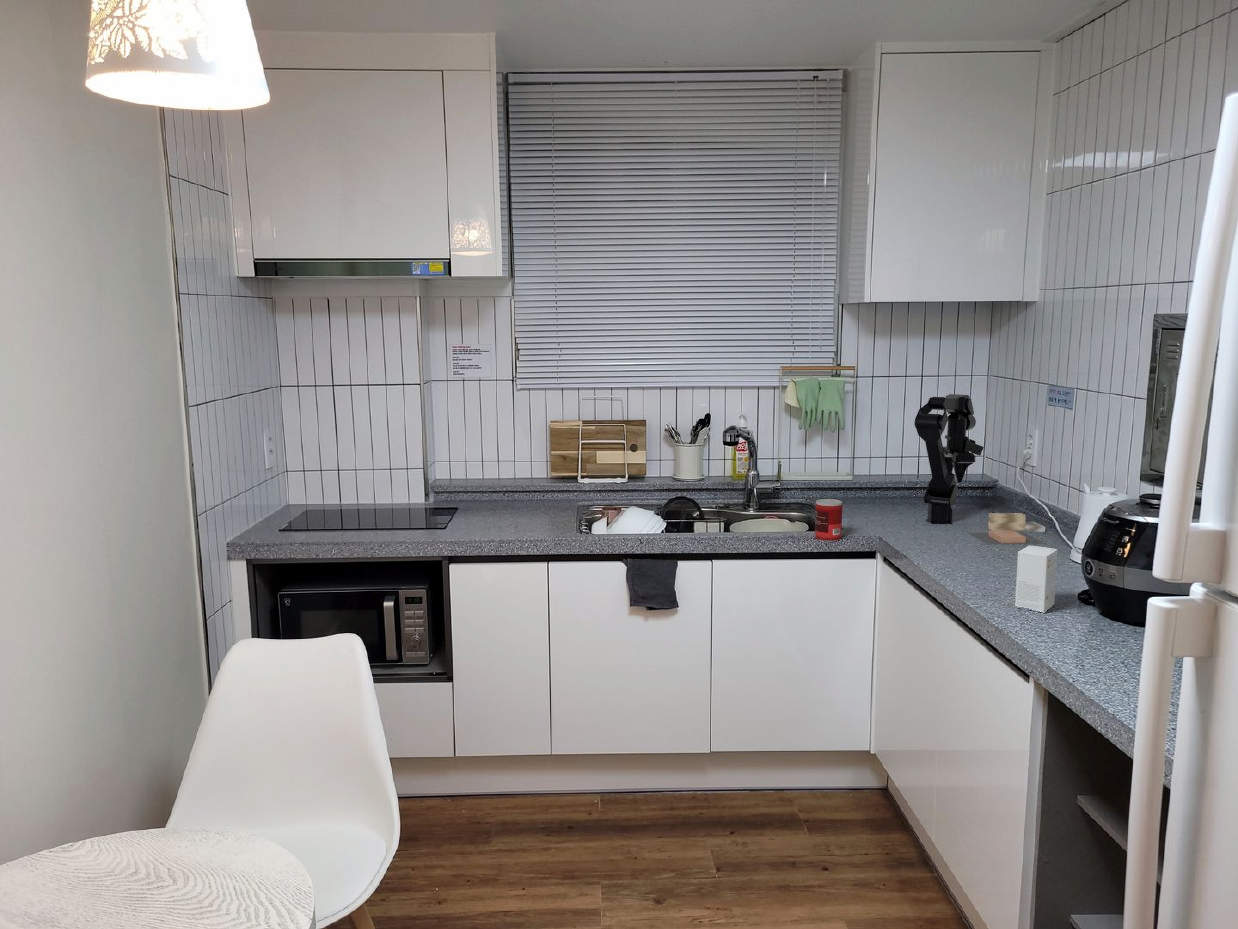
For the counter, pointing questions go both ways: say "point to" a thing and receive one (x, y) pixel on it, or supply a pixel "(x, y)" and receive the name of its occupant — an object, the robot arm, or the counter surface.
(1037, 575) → the small box
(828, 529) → the canned food
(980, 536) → the mat
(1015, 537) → the tile
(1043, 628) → the counter surface
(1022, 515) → the beige l-shaped piece
